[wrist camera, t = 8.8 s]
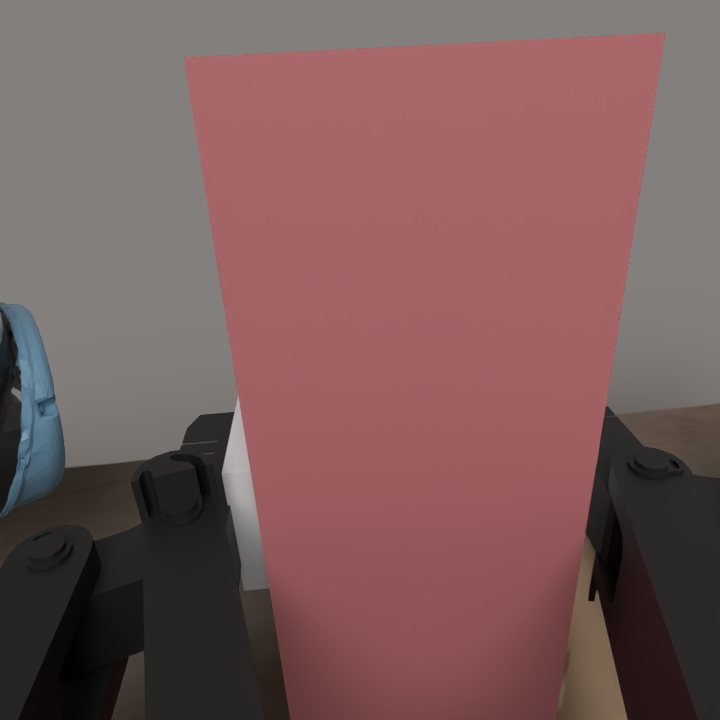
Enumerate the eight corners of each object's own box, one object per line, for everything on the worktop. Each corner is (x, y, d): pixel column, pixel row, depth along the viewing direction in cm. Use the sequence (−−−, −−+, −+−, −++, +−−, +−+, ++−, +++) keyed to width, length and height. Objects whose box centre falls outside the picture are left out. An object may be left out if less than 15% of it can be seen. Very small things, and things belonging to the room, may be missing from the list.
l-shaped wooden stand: (528, 749, 32) (540, 655, 28) (456, 538, 46) (459, 459, 43) (843, 707, 33) (890, 613, 29) (677, 514, 47) (697, 436, 44)
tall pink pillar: (321, 912, 14) (183, 57, 6) (315, 563, 24) (260, 66, 16) (528, 885, 14) (666, 33, 6) (437, 551, 24) (445, 56, 16)
